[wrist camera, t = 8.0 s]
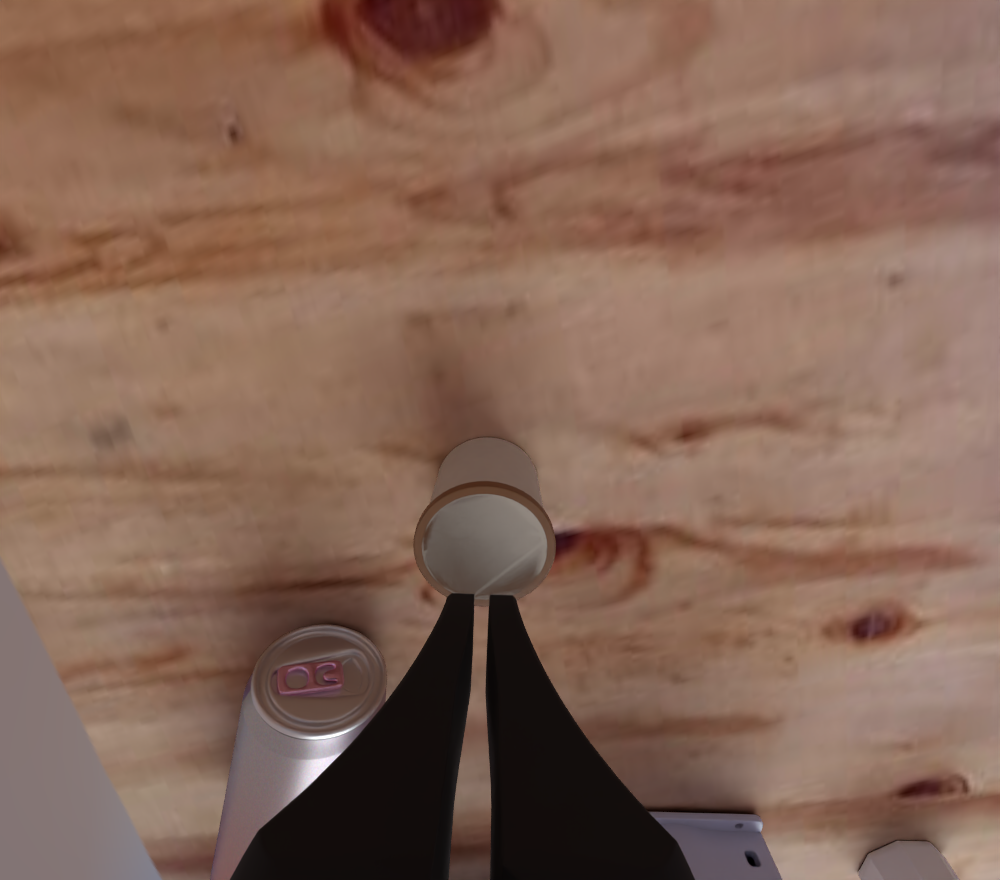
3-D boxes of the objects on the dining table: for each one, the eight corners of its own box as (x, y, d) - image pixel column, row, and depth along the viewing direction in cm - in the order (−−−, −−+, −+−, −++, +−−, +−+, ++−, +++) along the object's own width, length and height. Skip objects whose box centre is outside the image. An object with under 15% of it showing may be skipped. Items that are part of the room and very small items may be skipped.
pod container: (547, 434, 19) (562, 488, 15) (538, 532, 21) (549, 609, 16) (432, 429, 19) (411, 482, 15) (433, 528, 21) (414, 604, 16)
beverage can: (215, 822, 26) (249, 624, 21) (325, 796, 29) (379, 616, 24) (200, 966, 21) (241, 755, 16) (334, 917, 24) (404, 724, 19)
